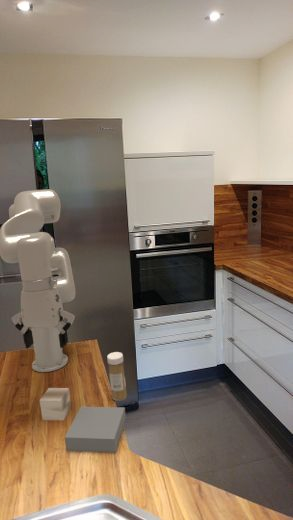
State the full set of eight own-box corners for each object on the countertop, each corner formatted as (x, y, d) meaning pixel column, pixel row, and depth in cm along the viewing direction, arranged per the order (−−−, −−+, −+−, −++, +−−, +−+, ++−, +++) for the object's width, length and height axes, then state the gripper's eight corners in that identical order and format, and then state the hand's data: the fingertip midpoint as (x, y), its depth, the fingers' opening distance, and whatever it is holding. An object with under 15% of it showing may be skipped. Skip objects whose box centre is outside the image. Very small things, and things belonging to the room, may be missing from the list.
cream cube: (51, 406, 102) (48, 387, 101) (71, 407, 101) (68, 388, 100) (42, 420, 96) (39, 400, 95) (63, 420, 96) (60, 400, 94)
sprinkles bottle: (129, 394, 105) (125, 352, 103) (122, 402, 101) (118, 359, 99) (115, 391, 107) (111, 350, 104) (108, 400, 103) (104, 357, 100)
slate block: (82, 419, 96) (80, 406, 95) (125, 421, 94) (124, 407, 93) (66, 452, 84) (64, 437, 83) (115, 454, 82) (114, 439, 82)
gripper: (74, 279, 94) (82, 339, 97) (14, 281, 96) (23, 340, 100) (64, 287, 86) (72, 352, 90) (-1, 289, 89) (9, 352, 93)
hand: (46, 345), depth 95 cm, fingers open, 9 cm apart
